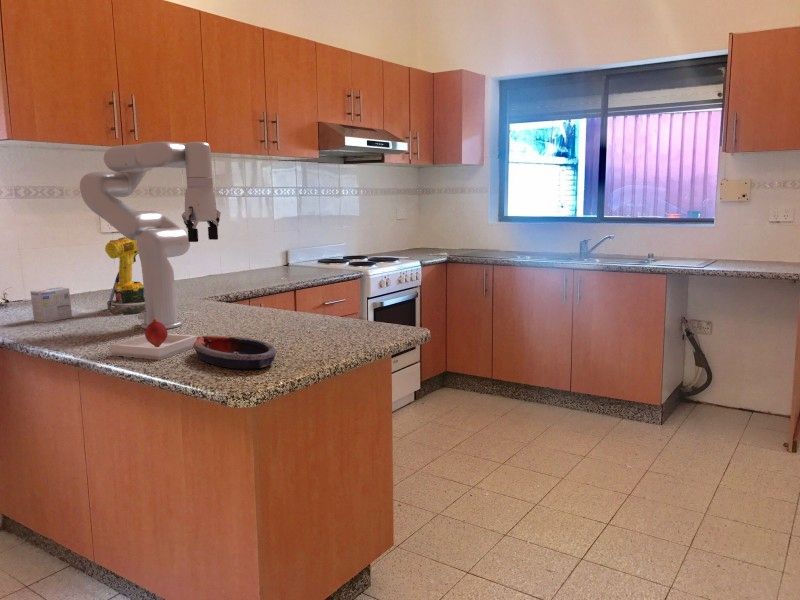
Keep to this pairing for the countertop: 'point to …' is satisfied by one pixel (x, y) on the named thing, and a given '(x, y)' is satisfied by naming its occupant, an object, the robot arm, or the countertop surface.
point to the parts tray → (153, 347)
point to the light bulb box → (51, 304)
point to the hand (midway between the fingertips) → (203, 240)
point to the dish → (234, 352)
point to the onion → (156, 333)
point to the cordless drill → (125, 279)
